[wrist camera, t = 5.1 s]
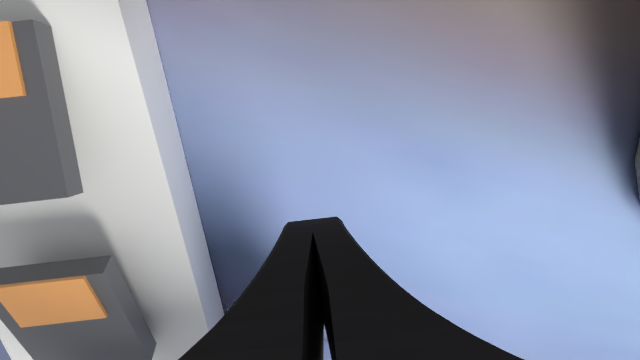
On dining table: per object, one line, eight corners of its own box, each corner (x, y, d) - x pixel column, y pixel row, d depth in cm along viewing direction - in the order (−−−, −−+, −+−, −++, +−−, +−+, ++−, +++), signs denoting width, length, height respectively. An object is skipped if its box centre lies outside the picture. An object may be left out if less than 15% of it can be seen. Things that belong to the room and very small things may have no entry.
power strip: (235, 358, 26) (228, 401, 23) (73, 377, 26) (46, 422, 23) (53, -371, 13) (-11, -469, 10) (-271, -339, 13) (-424, -429, 10)
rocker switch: (156, 343, 20) (150, 365, 20) (54, 355, 20) (43, 377, 19) (111, 255, 17) (101, 276, 16) (-11, 269, 17) (-28, 291, 16)
